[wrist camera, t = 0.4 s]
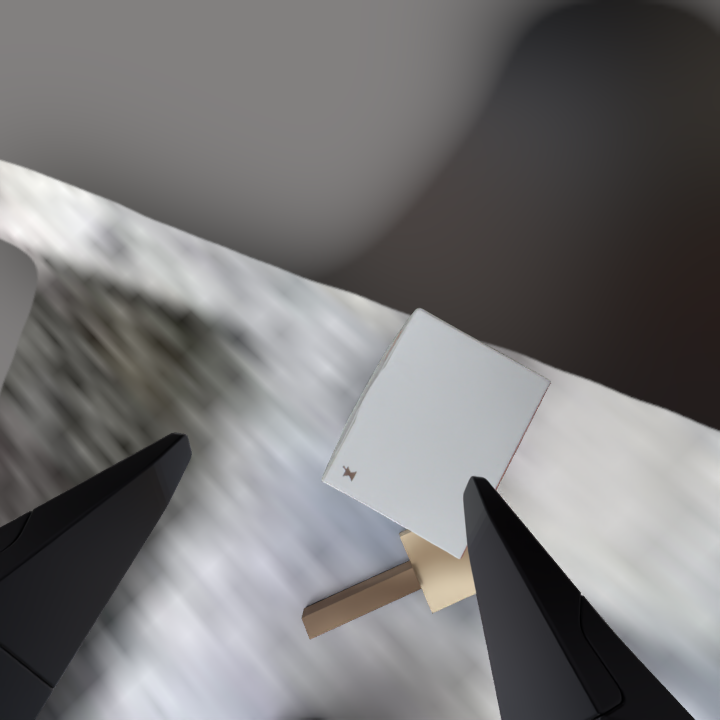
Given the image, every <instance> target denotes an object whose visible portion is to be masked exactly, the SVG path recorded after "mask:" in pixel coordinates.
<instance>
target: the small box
mask: <svg viewBox="0 0 720 720" xmlns="http://www.w3.org/2000/svg"><path fill="white" fill-rule="evenodd" d="M550 384H551V382H550V380H548V379H546V378H545V377H543V376H541V375H539V374H537V373H536V372H534V371H532V370H530V369H528V368H527V367H525V366H523V365H521V364H520V363H518V362H516V361H514V360H512V359H511V358H509V357H507V356H505V355H504V354H502V353H500V352H498V351H496V350H495V349H493V348H491V347H489V346H487V345H486V344H484V343H482V342H480V341H479V340H477V339H475V338H473V337H471V336H470V335H468V334H466V333H464V332H462V331H461V330H459V329H457V328H455V327H453V326H452V325H450V324H448V323H446V322H445V321H443V320H441V319H439V318H438V317H436V316H434V315H432V314H430V313H429V312H427V311H425V310H423V309H422V308H418V309H416V310H415V311H414V312H413V314H412V315H411V316H410V318H409V319H408V321H407V322H406V324H405V325H404V326H403V328H402V329H401V330H400V332H399V333H398V335H397V336H396V337H395V339H394V341H393V342H392V343H391V345H390V346H389V347H388V349H387V350H386V352H385V354H384V355H383V357H382V359H381V361H380V362H379V364H378V366H377V368H376V369H375V371H374V373H373V375H372V377H371V378H370V380H369V382H368V384H367V386H366V387H365V389H364V391H363V393H362V395H361V396H360V398H359V400H358V402H357V404H356V406H355V407H354V409H353V411H352V413H351V415H350V417H349V419H348V421H347V423H346V425H345V427H344V429H343V431H342V434H341V436H340V439H339V441H338V443H337V445H336V447H335V449H334V452H333V454H332V456H331V458H330V461H329V463H328V465H327V467H326V470H325V472H324V474H323V477H322V482H324V483H326V484H328V485H330V486H332V487H334V488H335V489H337V490H339V491H341V492H343V493H344V494H346V495H348V496H350V497H352V498H353V499H355V500H357V501H359V502H361V503H362V504H364V505H366V506H368V507H370V508H371V509H373V510H375V511H377V512H378V513H380V514H382V515H383V516H385V517H387V518H389V519H390V520H392V521H394V522H396V523H397V524H399V525H401V526H403V527H404V528H406V529H408V530H410V531H411V532H413V533H415V534H417V535H418V536H420V537H422V538H423V539H425V540H427V541H429V542H430V543H432V544H434V545H435V546H437V547H439V548H441V549H443V550H444V551H446V552H448V553H449V554H451V555H453V556H454V557H456V558H458V559H461V558H462V557H463V555H464V553H465V551H466V549H467V537H466V527H465V516H464V505H463V493H464V490H465V488H466V486H467V483H468V481H469V479H470V477H471V476H479V477H484V478H486V479H487V480H488V481H489V483H490V484H491V485H492V486H493V487H494V489H495V490H497V488H498V486H499V484H500V481H501V479H502V477H503V476H504V474H505V472H506V470H507V468H508V466H509V464H510V462H511V460H512V458H513V456H514V454H515V452H516V450H517V449H518V447H519V445H520V443H521V441H522V438H523V436H524V434H525V432H526V431H527V429H528V427H529V425H530V423H531V420H532V419H533V417H534V415H535V413H536V411H537V409H538V407H539V405H540V403H541V401H542V399H543V397H544V395H545V393H546V391H547V389H548V387H549V385H550Z"/></svg>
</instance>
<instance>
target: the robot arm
mask: <svg viewBox="0 0 720 720" xmlns="http://www.w3.org/2000/svg"><path fill="white" fill-rule="evenodd" d="M191 455H192V452H191V447H190V443H189V439H188V436H187V435H186V434H182V433H171V434H169V435H167V436H165V437H164V438H162V439H160V440H158V441H156V442H154V443H153V444H151V445H149V446H147V447H145V448H144V449H142V450H140V451H138V452H136V453H135V454H133V455H131V456H129V457H127V458H125V459H124V460H122V461H120V462H118V463H116V464H115V465H113V466H111V467H109V468H107V469H106V470H104V471H102V472H100V473H98V474H96V475H95V476H93V477H91V478H89V479H87V480H86V481H84V482H82V483H80V484H78V485H76V486H75V487H73V488H71V489H69V490H67V491H66V492H64V493H62V494H60V495H58V496H57V497H55V498H53V499H51V500H49V501H47V502H46V503H44V504H42V505H40V506H38V507H37V508H35V509H33V511H29V512H27V513H26V514H24V515H22V516H20V517H18V518H16V519H15V520H13V521H11V522H9V523H7V524H5V525H4V526H2V527H0V720H35V719H36V717H37V716H38V714H39V713H40V711H41V709H42V708H43V706H44V705H45V703H46V701H47V700H48V698H49V696H50V695H51V693H52V692H53V688H54V687H55V686H56V685H57V683H58V681H59V680H60V678H61V677H62V675H63V673H64V672H65V670H66V669H67V667H68V665H69V664H70V662H71V661H72V659H73V657H74V656H75V654H76V652H77V651H78V649H79V648H80V646H81V644H82V643H83V641H84V640H85V638H86V636H87V635H88V633H89V632H90V630H91V628H92V627H93V625H94V623H95V622H96V620H97V619H98V617H99V615H100V614H101V612H102V611H103V609H104V607H105V606H106V604H107V603H108V601H109V599H110V598H111V596H112V594H113V593H114V591H115V590H116V588H117V586H118V585H119V583H120V582H121V580H122V578H123V577H124V575H125V574H126V572H127V570H128V569H129V567H130V565H131V564H132V562H133V561H134V559H135V557H136V556H137V554H138V553H139V551H140V549H141V548H142V546H143V545H144V543H145V541H146V540H147V538H148V536H149V535H150V533H151V532H152V530H153V528H154V527H155V525H156V524H157V522H158V520H159V519H160V517H161V515H162V514H163V512H164V511H165V509H166V507H167V505H168V504H169V502H170V500H171V498H172V496H173V494H174V492H175V490H176V488H177V486H178V484H179V482H180V480H181V478H182V475H183V473H184V471H185V469H186V467H187V465H188V463H189V461H190V459H191ZM463 505H464V516H465V527H466V537H467V547H468V554H469V560H470V565H471V570H472V575H473V580H474V585H475V590H476V595H477V600H478V605H479V610H480V615H481V620H482V625H483V630H484V635H485V640H486V645H487V650H488V655H489V660H490V665H491V670H492V675H493V680H494V685H495V690H496V695H497V700H498V705H499V710H500V715H501V720H695V719H694V718H693V717H692V716H691V715H690V714H689V713H688V712H687V710H686V709H685V708H684V707H683V706H682V705H681V704H680V703H679V702H678V701H677V700H676V699H675V698H674V697H673V695H672V694H671V693H670V692H669V691H668V690H667V689H666V688H665V687H664V686H663V685H662V684H661V683H660V682H659V680H658V679H657V678H656V677H655V676H654V675H653V674H652V673H651V672H650V671H649V670H648V669H647V668H646V667H645V665H644V664H643V663H642V662H641V661H640V660H639V659H638V658H637V657H636V656H635V655H634V653H633V652H632V651H631V650H630V649H629V648H628V647H627V646H626V645H625V644H624V642H623V641H622V640H621V639H620V638H619V637H618V636H617V635H616V633H615V632H614V631H613V630H612V629H611V628H610V626H609V625H608V624H607V623H606V622H605V621H604V619H603V618H602V617H601V616H600V615H599V614H598V613H597V611H596V610H595V609H594V608H593V607H592V605H591V604H590V603H589V602H588V600H587V599H586V598H585V597H584V596H582V595H581V592H580V591H579V590H578V589H577V587H576V586H575V585H574V584H573V583H572V581H571V580H570V579H569V578H568V577H567V575H566V574H565V573H564V572H563V571H562V569H561V568H560V567H559V566H558V565H557V563H556V562H555V561H554V560H553V559H552V557H551V556H550V555H549V554H548V552H547V551H546V550H545V549H544V548H543V546H542V545H541V544H540V543H539V542H538V540H537V539H536V538H535V537H534V536H533V534H532V533H531V532H530V531H529V530H528V528H527V527H526V526H525V525H524V524H523V522H522V521H521V520H520V519H519V518H518V516H517V515H516V514H515V513H514V512H513V510H512V509H511V508H510V507H509V506H508V504H507V503H506V502H505V501H504V500H503V498H502V497H501V496H500V495H499V493H498V492H497V491H496V490H495V489H494V487H493V486H492V485H491V484H490V483H489V481H488V480H487V479H486V478H484V477H479V476H471V477H470V479H469V481H468V483H467V486H466V488H465V490H464V493H463Z"/></svg>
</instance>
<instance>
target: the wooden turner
mask: <svg viewBox="0 0 720 720" xmlns="http://www.w3.org/2000/svg"><path fill="white" fill-rule="evenodd" d="M399 535H400V538H401V540H402V543H403V545H404V547H405V550H406V552H407V555H408V557H409V559H410V561H408V562H405V563H403V564H401V565H399V566H397V567H394V568H392V569H390V570H388V571H386V572H383V573H381V574H379V575H377V576H374V577H372V578H370V579H368V580H366V581H363V582H361V583H359V584H357V585H355V586H352V587H350V588H348V589H346V590H344V591H341V592H339V593H337V594H335V595H333V596H330V597H328V598H326V599H324V600H322V601H319V602H317V603H315V604H313V605H311V606H308V607H306V608H304V611H303V615H302V620H303V623H304V626H305V628H306V631H307V633H308V636H309V639H312V638H314V637H317V636H319V635H321V634H323V633H325V632H327V631H330V630H332V629H334V628H336V627H338V626H341V625H343V624H345V623H347V622H349V621H352V620H354V619H356V618H358V617H360V616H362V615H365V614H367V613H369V612H371V611H373V610H376V609H378V608H380V607H382V606H384V605H386V604H389V603H391V602H393V601H395V600H397V599H400V598H402V597H404V596H406V595H408V594H411V593H413V592H415V591H417V590H419V589H421V588H422V590H423V593H424V595H425V597H426V600H427V602H428V604H429V607H430V609H431V611H432V613H435V612H437V611H439V610H441V609H443V608H445V607H448V606H450V605H452V604H454V603H456V602H458V601H461V600H463V599H465V598H467V597H469V596H471V595H474V594H476V590H475V585H474V580H473V575H472V570H471V565H470V560H469V554H468V547H467V549H466V551H465V553H464V555H463V557H462V558H461V559H458V558H456V557H454V556H453V555H451V554H449V553H448V552H446V551H444V550H443V549H441V548H439V547H437V546H435V545H434V544H432V543H430V542H429V541H427V540H425V539H423V538H422V537H420V536H418V535H417V534H415V533H413V532H411V531H410V530H408V529H407V530H405V531H403V532H401V533H399ZM420 585H421V586H420Z"/></svg>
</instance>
